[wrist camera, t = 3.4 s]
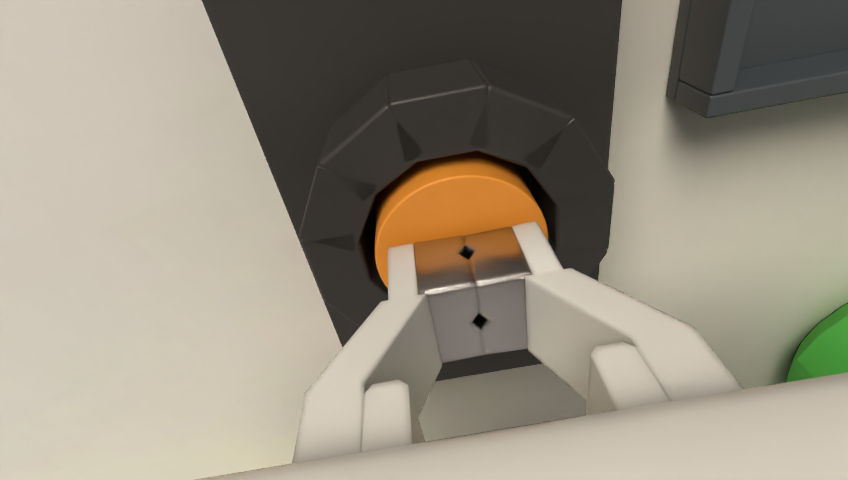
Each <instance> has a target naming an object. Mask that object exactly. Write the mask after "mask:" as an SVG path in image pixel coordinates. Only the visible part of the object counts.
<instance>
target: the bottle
mask: <svg viewBox="0 0 848 480" xmlns="http://www.w3.org/2000/svg"><path fill="white" fill-rule="evenodd" d="M847 372H848V304H845V305H843V306H842V307H841V308H839V309H838V310H837V311H835V312H834V313H832V314H831V315H830V316H828V317H827V318H825V319H824V320H823V321H821V322H820V323H819V324H817V326H816V327H815V328H814V329H813V330H812V331H811V332H810V333H809V334H808V335H807V337H806V338H805V339H804V340H803V341H802V342H801V343H800V345H799V348H798V350H797V352H796V354H795V356H794V358H793V361H792V364H791V367H790V370H789V373H788V377H787V382H792V381H798V380H804V379H810V378H816V377H822V376H829V375H835V374H841V373H847Z"/></svg>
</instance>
